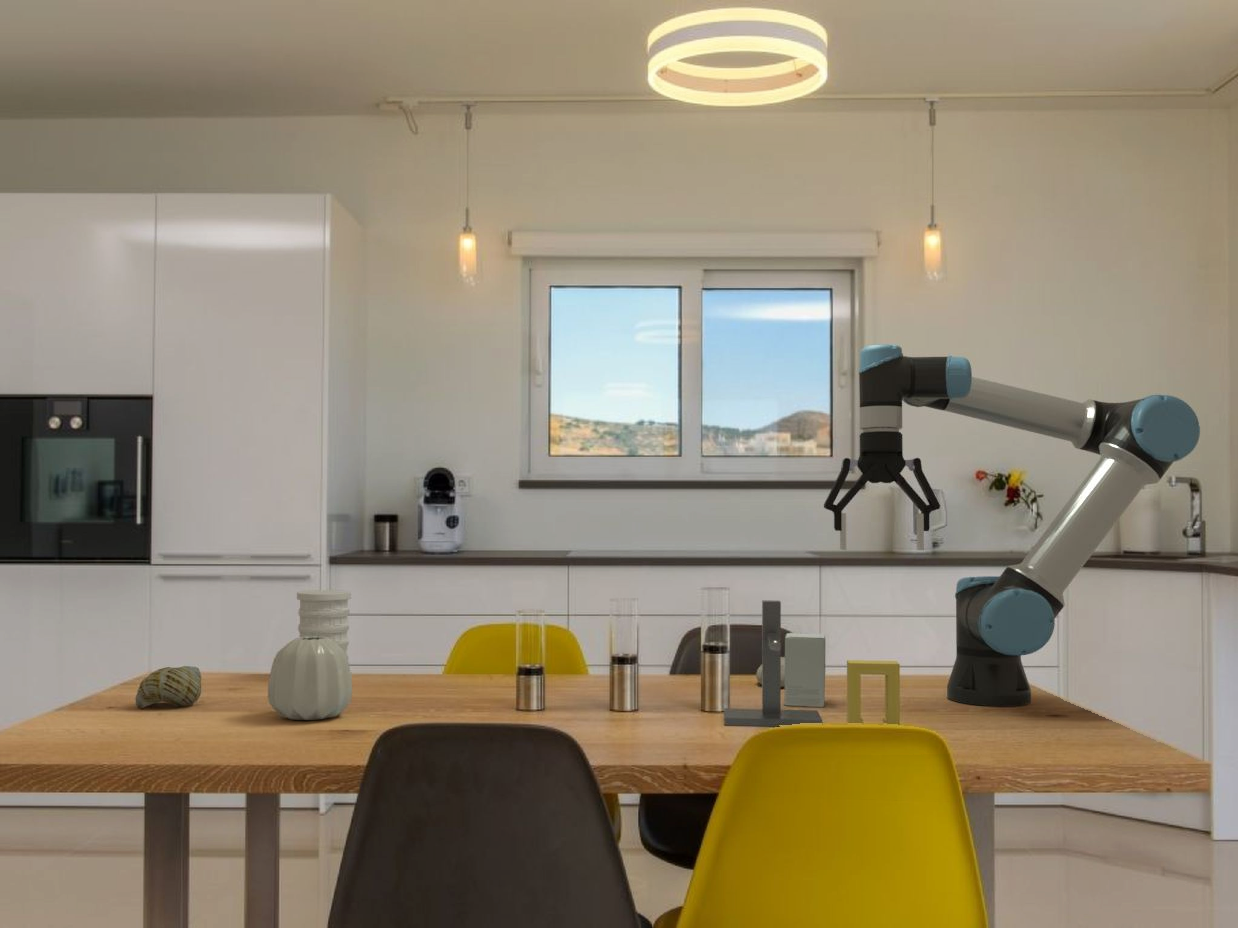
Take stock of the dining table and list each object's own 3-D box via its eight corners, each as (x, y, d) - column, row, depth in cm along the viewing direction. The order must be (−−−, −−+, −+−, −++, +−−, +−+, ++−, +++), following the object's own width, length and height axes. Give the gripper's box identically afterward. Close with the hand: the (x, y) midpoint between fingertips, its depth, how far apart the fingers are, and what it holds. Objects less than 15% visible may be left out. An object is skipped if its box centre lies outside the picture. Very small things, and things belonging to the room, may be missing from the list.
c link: (896, 728, 186) (896, 660, 187) (899, 732, 183) (899, 663, 183) (846, 727, 187) (846, 660, 187) (849, 731, 184) (849, 662, 184)
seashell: (120, 703, 201) (144, 650, 205) (166, 722, 207) (188, 670, 211) (151, 707, 194) (175, 652, 199) (197, 726, 201) (219, 672, 205)
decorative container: (307, 674, 240) (308, 589, 241) (359, 676, 239) (361, 590, 239) (283, 683, 229) (285, 593, 229) (338, 684, 227) (340, 594, 228)
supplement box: (824, 707, 205) (825, 637, 206) (783, 705, 207) (783, 636, 207) (825, 700, 213) (825, 633, 213) (785, 699, 214) (786, 631, 214)
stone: (791, 702, 237) (774, 668, 241) (827, 679, 233) (809, 645, 236) (757, 704, 227) (740, 669, 231) (794, 680, 223) (776, 644, 226)
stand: (817, 717, 196) (817, 600, 196) (826, 736, 179) (826, 609, 180) (724, 715, 197) (724, 599, 198) (725, 734, 181) (725, 607, 181)
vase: (263, 712, 196) (265, 634, 197) (345, 707, 202) (346, 632, 202) (272, 727, 184) (274, 644, 184) (359, 721, 189) (360, 640, 190)
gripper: (947, 432, 207) (948, 549, 206) (808, 432, 209) (809, 548, 208) (956, 429, 200) (957, 550, 199) (812, 430, 201) (813, 550, 201)
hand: (881, 549), depth 203 cm, fingers open, 13 cm apart
